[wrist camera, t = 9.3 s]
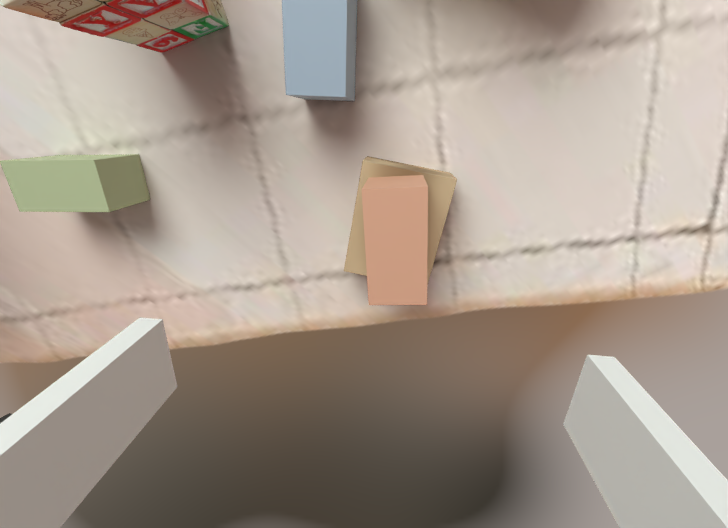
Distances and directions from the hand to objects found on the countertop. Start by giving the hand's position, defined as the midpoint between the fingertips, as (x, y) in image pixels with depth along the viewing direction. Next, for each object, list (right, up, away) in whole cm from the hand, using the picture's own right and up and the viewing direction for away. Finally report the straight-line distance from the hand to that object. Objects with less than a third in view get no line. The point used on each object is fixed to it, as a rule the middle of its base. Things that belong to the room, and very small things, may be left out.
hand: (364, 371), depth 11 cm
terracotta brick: (+3, +6, +16) cm, 17 cm away
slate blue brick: (-3, +20, +15) cm, 25 cm away
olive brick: (-24, +11, +21) cm, 34 cm away
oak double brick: (+3, +8, +20) cm, 21 cm away
